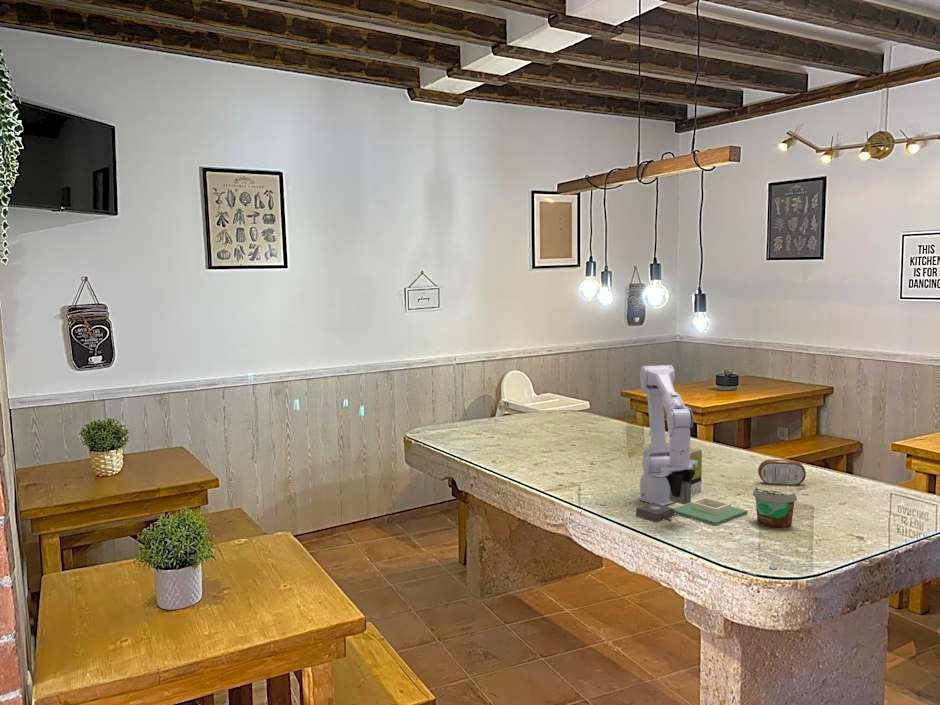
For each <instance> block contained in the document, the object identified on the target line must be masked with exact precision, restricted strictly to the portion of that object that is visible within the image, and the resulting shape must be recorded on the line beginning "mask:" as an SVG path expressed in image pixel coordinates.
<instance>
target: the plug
mask: <svg viewBox="0 0 940 705" xmlns="http://www.w3.org/2000/svg"><path fill="white" fill-rule="evenodd" d="M670 501H673V502H674V503H677V504H681V505H685V504H688V503H691V502H692V495H691V485H690V482H687V481H683V480H682V482H681V489H680V496H679V497H675V496H672V492H671V488H670Z"/></svg>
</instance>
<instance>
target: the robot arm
mask: <svg viewBox="0 0 940 705" xmlns="http://www.w3.org/2000/svg"><path fill="white" fill-rule="evenodd" d="M675 375H676V373H675V368H674V366H673V365H672V364H663V365H662V364H661V365H659V364H657V365H642V366H641V368H640V372H639V382H640V388H641V392H644V393H645V394H646V398H647V409H648V421H649V432H650V444H649V445H648V446H647V447H646V448H644V450H642V451H643V452H642V461H641V462H642V469H643V474H641V476H640V480H639V481H640V482H639V483H640V484H639V489H640V490H639V492H640V493H639V498H638V501H640V500H641V502H644V501H645V502H644V503H647V502H648V503H647V504H650V503H657V504H660V505H664V506H667V505H670V504H671V505H672V504H674V503H675V502H673V501H670V488H671V492H672V496H675V497H679V496H680V489H681V482H682V480H683V481H687V482H691V480H692V478H693V476H694V475H695V470H691V469H693V467H698V461H697V460H690V447H691V429H692V428H693V426H694V415H693V411H692V409H691V407H688V406H686V405H685V403H684V401H683V398H682V395H681V394H680V393H679V392H676V390H675V388H674V385H673V384H674V382H675V378H676V376H675ZM664 410H665V414H666V423H667V433H668V435H669V443H670V446H668V445H667V444H666V443H667V439H666V437H667V436H666V424H665V414H664ZM651 453H666V454H656V455H650V454H651Z"/></svg>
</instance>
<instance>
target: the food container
mask: <svg viewBox="0 0 940 705" xmlns="http://www.w3.org/2000/svg"><path fill="white" fill-rule="evenodd" d="M752 496H753V497H755V506H756V508H755V510H756V520H757V523H758V524H759V525H761V526H762V525H763V527H765V526H766V527H765V528H771V529H788V528H791V527H792V523H793V517H794V516H793V515H794V507H795V502H796V501H798V499H797V495H796V493H795V492H794V493H791V494H786V493H783V492H779V491H776V490H763V489H760V488H758V486H757V485H755V486H754V488H753V492H752Z"/></svg>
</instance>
